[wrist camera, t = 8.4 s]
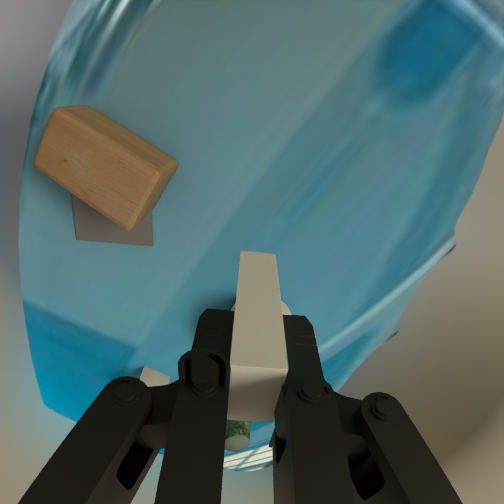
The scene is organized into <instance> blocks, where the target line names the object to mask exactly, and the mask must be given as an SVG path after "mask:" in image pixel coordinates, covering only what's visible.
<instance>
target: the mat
mask: <svg viewBox="0 0 504 504" xmlns="http://www.w3.org/2000/svg"><path fill="white" fill-rule="evenodd" d="M71 195H72V205H73V214H74V222H75V230H76V237H77V240H88V241H99V242H110V243H121V244H132V245H143V246H153V234H152V211H151V212H150V213H149V214H148V215H147V216H146V217H145V218H144V219H143V220H142V221H141V222H140V223H139V224H138V225H137V226H136V227H135V228H134V229H133V230H131V231H129V230H126V229H124V228H123V227H121V226H119V225H118V224H116V223H115V222H113V221H112V220H110V219H109V218H107V217H106V216H104V215H103V214H101V213H100V212H99V211H97V210H96V209H94V208H93V207H91V206H90V205H88V204H87V203H85V202H84V201H82V200H81V199H80V198H78V197H77V196H75V195H74V194H72V193H71Z"/></svg>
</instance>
